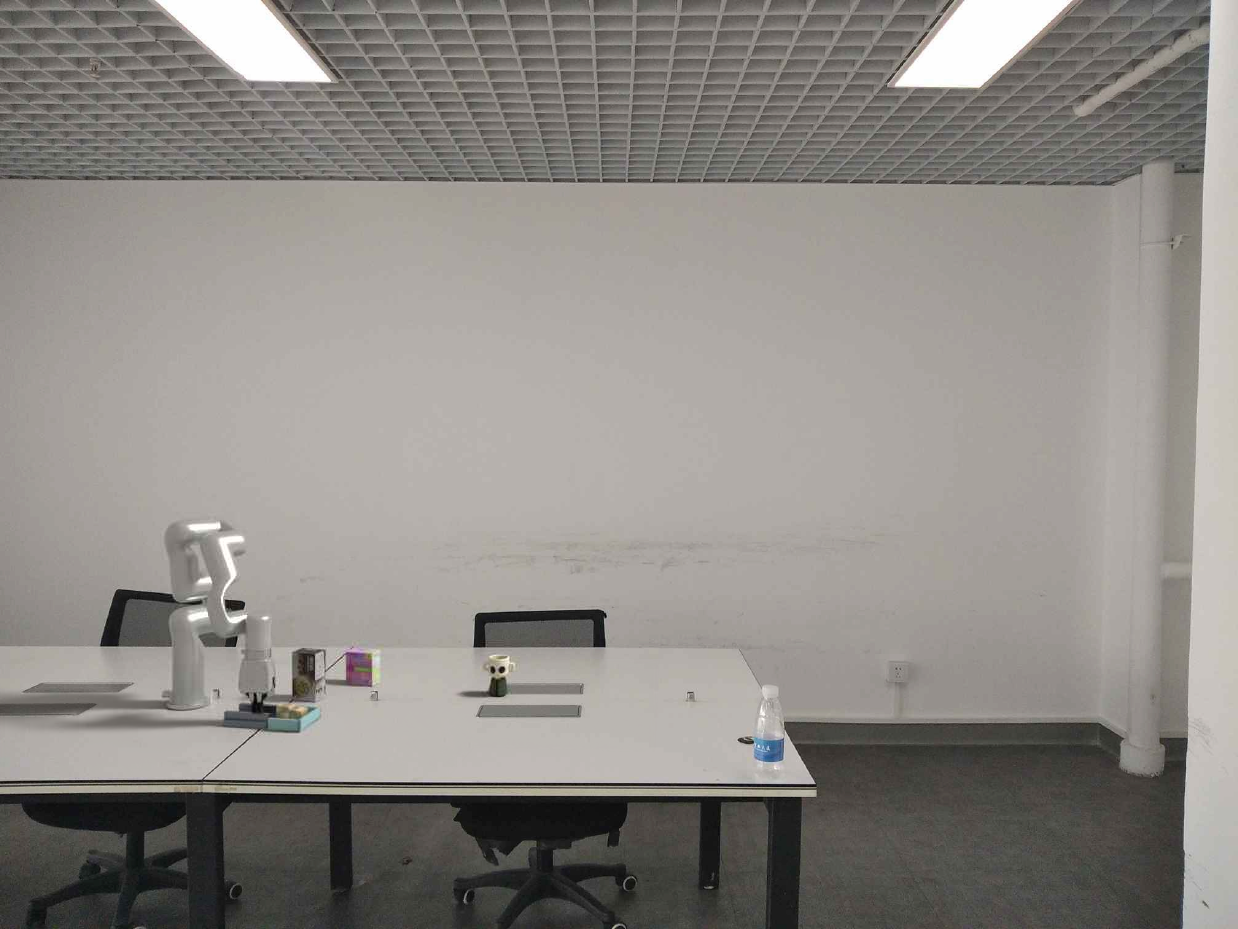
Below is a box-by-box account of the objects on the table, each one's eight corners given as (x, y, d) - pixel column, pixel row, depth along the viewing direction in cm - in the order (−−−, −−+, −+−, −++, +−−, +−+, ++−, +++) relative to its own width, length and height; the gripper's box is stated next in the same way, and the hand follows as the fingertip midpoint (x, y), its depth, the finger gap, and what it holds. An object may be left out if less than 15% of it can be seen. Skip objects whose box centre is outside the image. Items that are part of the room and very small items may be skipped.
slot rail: (222, 726, 282) (222, 713, 282) (243, 714, 294) (243, 701, 294) (266, 729, 280) (266, 715, 280) (285, 717, 292) (285, 704, 292)
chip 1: (275, 719, 284) (276, 705, 284) (282, 715, 288) (283, 702, 288) (288, 720, 284) (289, 707, 283) (294, 716, 288) (295, 703, 287)
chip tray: (267, 730, 279) (267, 718, 279) (290, 716, 293) (290, 705, 293) (299, 732, 278) (299, 720, 278) (320, 718, 292) (320, 707, 292)
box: (345, 684, 330) (345, 651, 330) (353, 680, 336) (353, 647, 335) (372, 687, 328) (372, 653, 327) (380, 682, 333) (380, 649, 333)
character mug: (480, 697, 318) (481, 659, 318) (484, 691, 325) (485, 654, 325) (512, 698, 318) (513, 660, 317) (515, 692, 325) (516, 655, 324)
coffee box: (326, 697, 314) (326, 649, 314) (315, 702, 308) (315, 653, 307) (302, 694, 317) (302, 647, 316) (290, 700, 310) (291, 651, 310)
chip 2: (289, 710, 283) (301, 711, 283) (295, 706, 287) (307, 707, 287) (288, 723, 284) (300, 724, 283) (294, 719, 288) (306, 720, 287)
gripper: (228, 655, 283) (227, 716, 284) (275, 658, 282) (274, 719, 282) (241, 650, 291) (240, 708, 292) (287, 652, 289) (286, 712, 290)
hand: (257, 713), depth 287 cm, fingers closed
